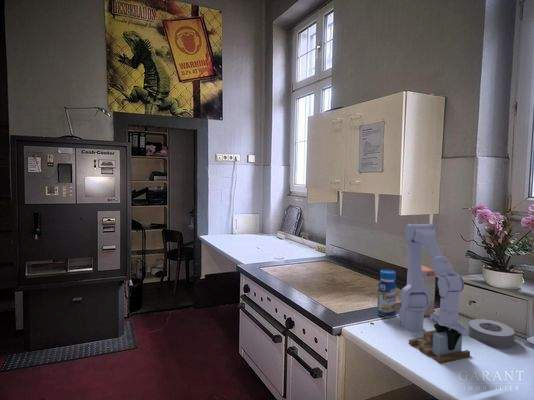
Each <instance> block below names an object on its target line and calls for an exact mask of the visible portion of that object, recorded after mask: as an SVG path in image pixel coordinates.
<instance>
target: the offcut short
mask: <svg viewBox="0 0 534 400" xmlns="http://www.w3.org/2000/svg"><path fill="white" fill-rule="evenodd" d="M434 333H437V331H436V329H434V330H429V331H423V336H422V337H423V339H425V340H427V341H428V342H433V334H434Z"/></svg>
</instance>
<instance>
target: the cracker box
mask: <svg viewBox="0 0 534 400" xmlns="http://www.w3.org/2000/svg"><path fill="white" fill-rule="evenodd" d="M421 271H422V286H423V287H424V288H425V289H427V291H428V297H429V300H430V303H429V306H428V307H427V308H426V310H424V317H430V314H435V313H434V311H435V310H434V309H435V295H436V294H435V293H436V278H437V275H436V273H435V270H434V269H432V268H429V267H428V266H425V265H422V264H421ZM406 275H407V276H406V286H407V285H408V270H407V274H406Z"/></svg>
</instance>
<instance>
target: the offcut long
mask: <svg viewBox="0 0 534 400" xmlns="http://www.w3.org/2000/svg"><path fill="white" fill-rule="evenodd" d="M429 344H433V342H428V341H427V340H425V339H418V345H419V346H424V345H429Z"/></svg>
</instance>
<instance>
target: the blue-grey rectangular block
mask: <svg viewBox="0 0 534 400" xmlns="http://www.w3.org/2000/svg"><path fill="white" fill-rule="evenodd" d="M462 346H463V336H462V335H461V337H460V338H459V340H458V341H457V344H456V346H455V349H454V350H448V337H447V333H446V331H445V332H440V333H434V334H433V351H432V353H433V354H435V355H436V356H441V355H445V354H450V353H455V352H460V351H462Z"/></svg>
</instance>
